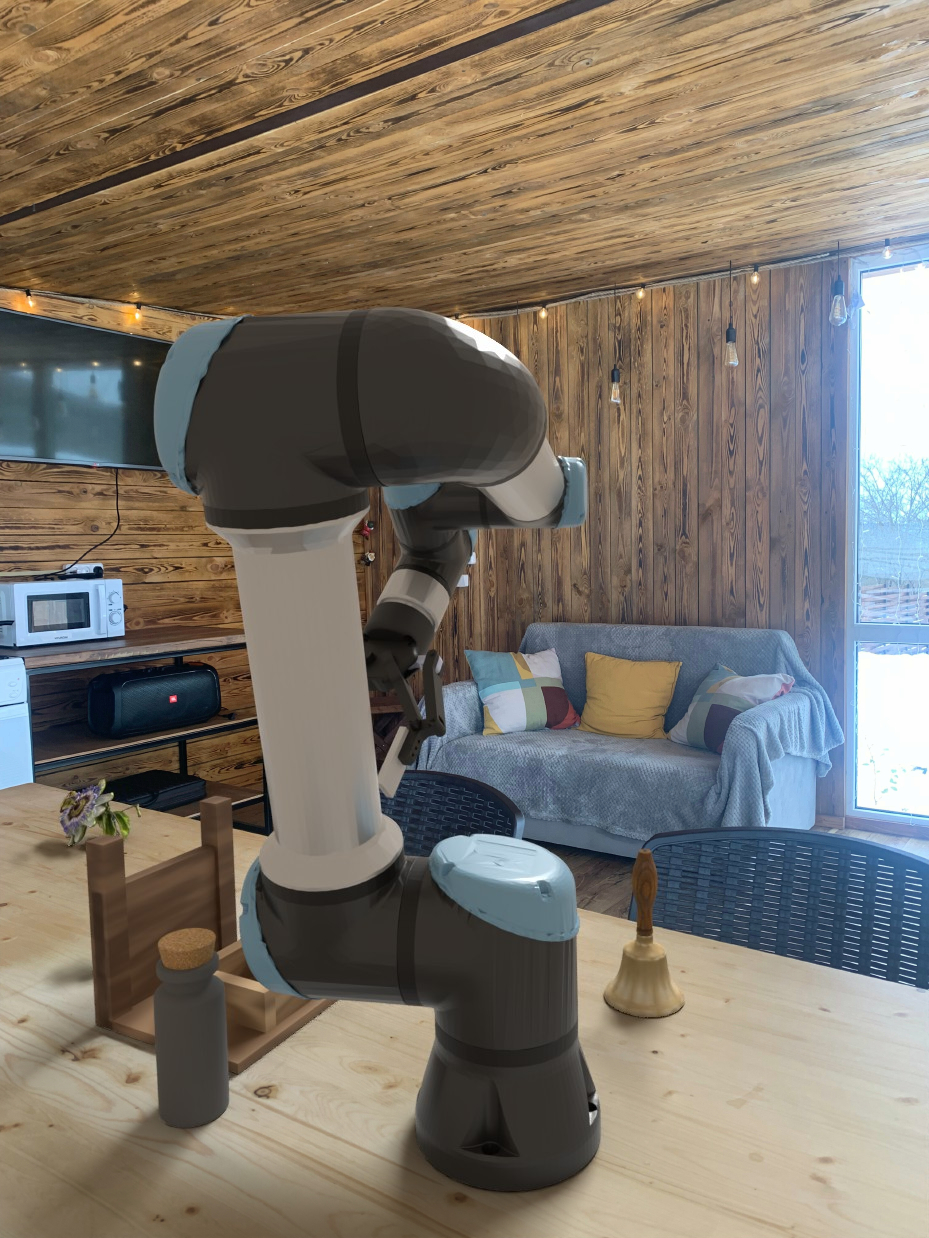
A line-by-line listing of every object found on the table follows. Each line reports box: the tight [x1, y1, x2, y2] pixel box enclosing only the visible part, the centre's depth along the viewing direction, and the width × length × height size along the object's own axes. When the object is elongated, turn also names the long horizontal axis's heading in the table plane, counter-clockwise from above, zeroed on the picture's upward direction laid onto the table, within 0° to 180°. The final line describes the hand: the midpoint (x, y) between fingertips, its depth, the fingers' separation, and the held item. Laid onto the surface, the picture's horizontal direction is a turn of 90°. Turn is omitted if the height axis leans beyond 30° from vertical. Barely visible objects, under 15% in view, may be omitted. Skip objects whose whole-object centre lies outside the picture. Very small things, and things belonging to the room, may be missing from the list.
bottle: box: [154, 928, 230, 1129], centre depth 78 cm, size 6×6×15 cm
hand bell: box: [603, 848, 685, 1019], centre depth 96 cm, size 8×8×16 cm
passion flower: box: [57, 778, 142, 846], centre depth 151 cm, size 11×11×12 cm
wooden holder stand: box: [84, 795, 338, 1075], centre depth 95 cm, size 19×18×19 cm
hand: (327, 782), depth 92 cm, fingers open, 13 cm apart
